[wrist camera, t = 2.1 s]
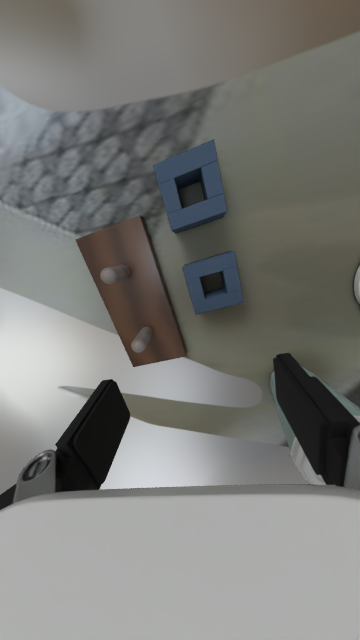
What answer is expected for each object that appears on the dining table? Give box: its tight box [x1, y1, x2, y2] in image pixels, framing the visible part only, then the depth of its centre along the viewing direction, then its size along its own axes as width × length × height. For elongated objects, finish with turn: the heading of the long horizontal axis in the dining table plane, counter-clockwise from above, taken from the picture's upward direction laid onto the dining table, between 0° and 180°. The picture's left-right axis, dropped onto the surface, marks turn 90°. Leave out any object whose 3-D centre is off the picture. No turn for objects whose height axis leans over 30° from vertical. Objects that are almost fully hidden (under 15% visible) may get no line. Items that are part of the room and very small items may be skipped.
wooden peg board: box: [76, 215, 187, 367], centre depth 26 cm, size 10×22×7 cm, turn 17°
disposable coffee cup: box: [270, 366, 360, 486], centre depth 25 cm, size 11×11×15 cm
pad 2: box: [182, 251, 244, 314], centre depth 25 cm, size 7×7×4 cm
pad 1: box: [153, 139, 227, 233], centre depth 21 cm, size 7×7×4 cm
